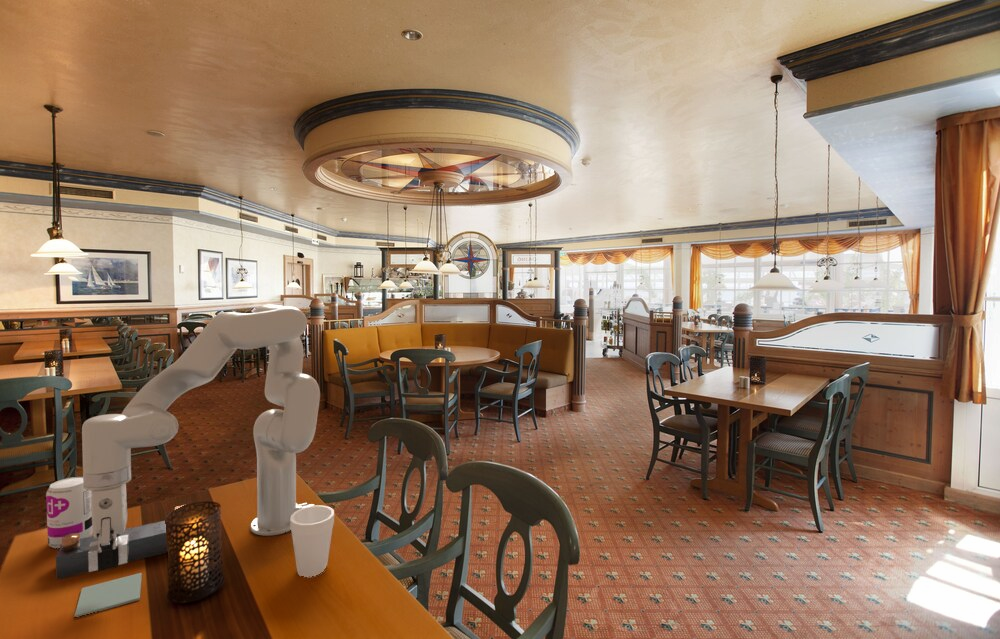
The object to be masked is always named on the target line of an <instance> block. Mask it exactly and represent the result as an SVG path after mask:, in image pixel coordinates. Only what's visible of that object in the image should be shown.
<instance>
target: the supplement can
mask: <svg viewBox="0 0 1000 639" xmlns="http://www.w3.org/2000/svg"><path fill="white" fill-rule="evenodd" d="M45 497H46V524H47V525H46V528H47V529H46V530H47V532H46V533H47V545H48V546H49V547H51V548H53V549H56V548H57V549H58V548H60V546H61V544H62V537H64V536H66V535H68V534H72V533H79V534H80V539H82V538H86V537H91V536H93V528H92V509H91V490H85V489H84V488H83V476H75V477H67V478H63V479H60V480H57V481H55V482H52V483H50V485H49V487H48V488H47V491H46V493H45ZM58 550H59V549H58Z"/></svg>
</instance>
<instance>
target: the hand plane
mask: <svg viewBox="0 0 1000 639" xmlns="http://www.w3.org/2000/svg"><path fill="white" fill-rule="evenodd" d="M184 505H185V504H181V505H178V506H175V507H174V511H175V510H176V509H178V508H180V507H182V506H184ZM101 535H102V533H101ZM119 535H120V536H123V535H128V541H129V554H128V561H127V563H130V562H133V561H139V560H142V559H146V558H150V557H154V556H158V555H162V554H165V553H166V552H167V543H166V524H165V520H161V521H157V522H153V523H152V522H151V523H147V524H144V525H143V524H142V525H138V526H134V527H129V528H126V529H125V531H124V533H122V534H120V533H119ZM95 541H98V539H95V538H94V537H93V535H91V536H90V537H86V538H82V539H80V534H79V533H72V534H68V535H66V536H64V537H62V544H61V546H60V549H58V551H57V554H56V557H55V570H56V572H55V574H56V580H62V579H65V578H68V577H73V576H78V575H81V573H82V574H86V573H90V572H89V560H88V552H89V546H90V542H95ZM167 553H168V552H167ZM85 572H86V573H85Z"/></svg>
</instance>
